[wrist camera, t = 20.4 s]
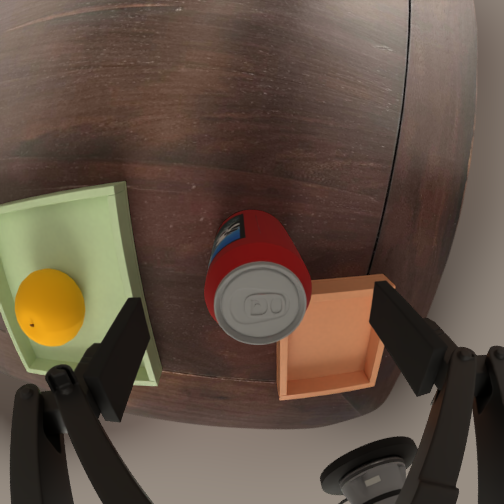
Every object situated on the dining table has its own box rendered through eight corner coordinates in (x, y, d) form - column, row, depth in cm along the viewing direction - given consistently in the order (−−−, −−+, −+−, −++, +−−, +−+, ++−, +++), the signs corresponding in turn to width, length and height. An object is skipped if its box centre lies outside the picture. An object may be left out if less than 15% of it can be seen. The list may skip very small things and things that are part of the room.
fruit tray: (162, 368, 33) (157, 386, 30) (36, 359, 33) (27, 372, 30) (126, 180, 26) (113, 185, 23) (-11, 206, 25) (-27, 213, 22)
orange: (31, 299, 29) (-3, 331, 22) (45, 245, 27) (4, 273, 20) (83, 335, 31) (57, 375, 24) (103, 285, 29) (72, 323, 22)
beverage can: (212, 208, 27) (195, 254, 16) (287, 206, 28) (322, 249, 16) (217, 277, 30) (207, 355, 18) (286, 274, 30) (314, 349, 18)
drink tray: (366, 370, 35) (374, 386, 32) (276, 382, 35) (279, 400, 32) (383, 273, 30) (395, 285, 27) (275, 282, 30) (279, 297, 27)
